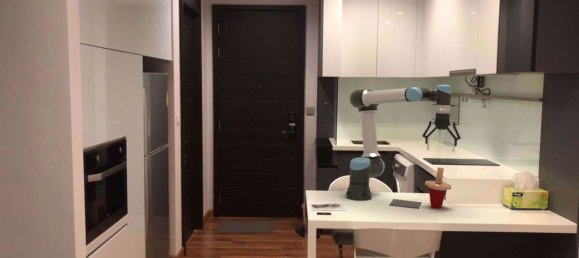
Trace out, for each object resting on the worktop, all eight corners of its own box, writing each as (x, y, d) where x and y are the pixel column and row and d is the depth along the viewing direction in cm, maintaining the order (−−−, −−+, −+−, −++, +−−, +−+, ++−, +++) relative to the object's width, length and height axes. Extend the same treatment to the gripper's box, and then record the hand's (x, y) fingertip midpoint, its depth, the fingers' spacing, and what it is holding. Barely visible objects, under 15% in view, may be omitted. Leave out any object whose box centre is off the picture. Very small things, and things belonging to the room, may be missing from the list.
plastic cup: (447, 210, 272) (448, 189, 271) (427, 208, 275) (428, 187, 273) (445, 206, 283) (447, 185, 282) (426, 204, 285) (427, 183, 284)
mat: (389, 205, 279) (389, 204, 279) (393, 199, 293) (393, 198, 293) (418, 208, 274) (418, 207, 274) (421, 203, 288) (421, 202, 288)
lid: (423, 186, 273) (426, 167, 272) (426, 182, 286) (429, 164, 285) (450, 191, 269) (453, 172, 267) (451, 186, 282) (454, 168, 281)
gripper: (418, 111, 275) (416, 150, 276) (466, 114, 266) (464, 153, 268) (420, 111, 282) (418, 148, 284) (466, 113, 273) (464, 151, 275)
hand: (440, 151), depth 276 cm, fingers open, 13 cm apart
